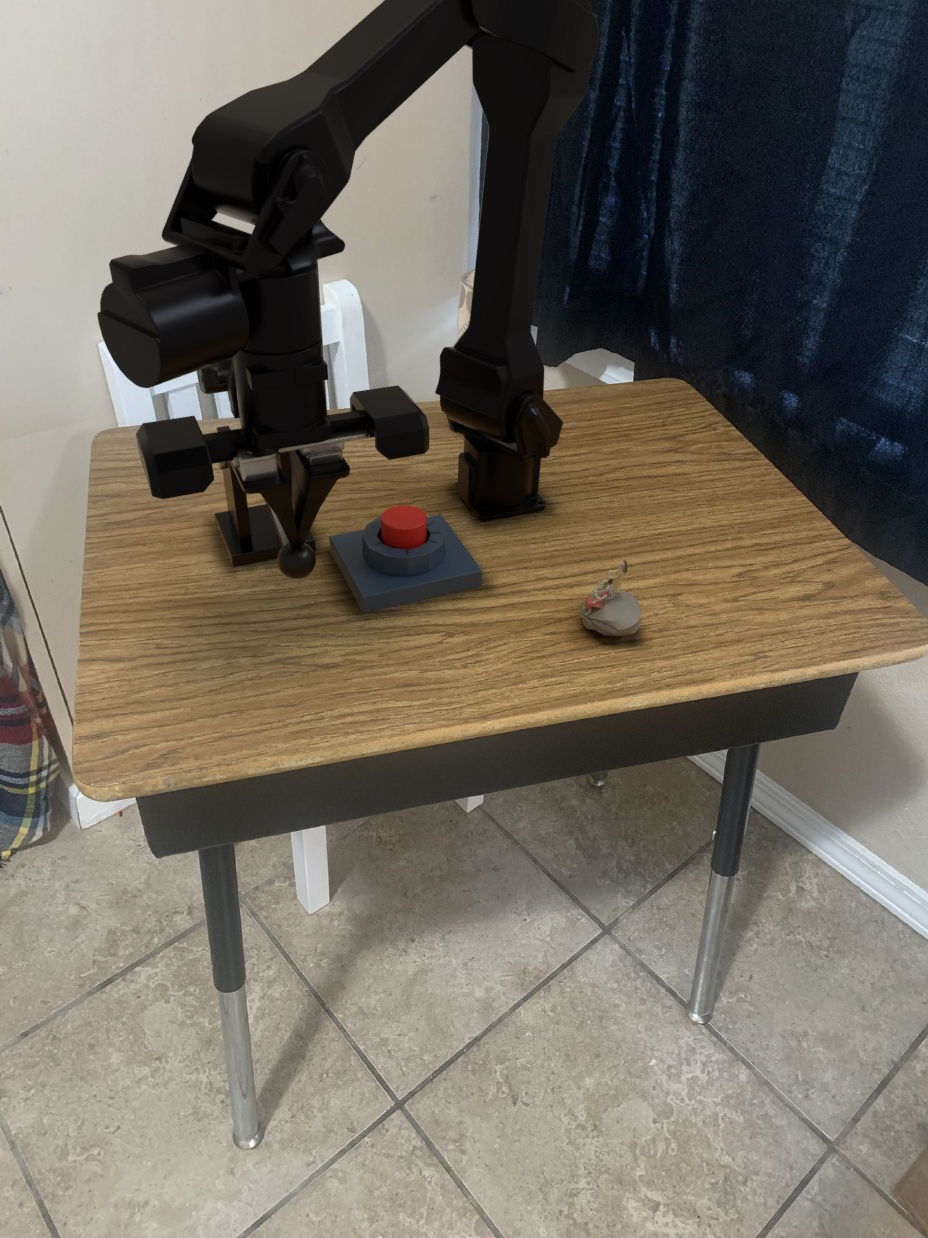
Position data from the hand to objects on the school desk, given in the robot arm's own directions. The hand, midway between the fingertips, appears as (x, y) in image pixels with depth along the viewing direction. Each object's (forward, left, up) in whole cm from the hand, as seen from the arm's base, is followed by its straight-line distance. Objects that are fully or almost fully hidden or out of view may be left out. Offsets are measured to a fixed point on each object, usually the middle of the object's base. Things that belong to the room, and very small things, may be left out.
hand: (295, 544), depth 71 cm
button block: (-9, -3, -7) cm, 12 cm away
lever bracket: (0, -12, -7) cm, 13 cm away
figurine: (-21, +9, -7) cm, 24 cm away
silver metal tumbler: (-26, -25, -7) cm, 37 cm away
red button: (-10, -3, -4) cm, 11 cm away
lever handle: (0, -6, -1) cm, 6 cm away
